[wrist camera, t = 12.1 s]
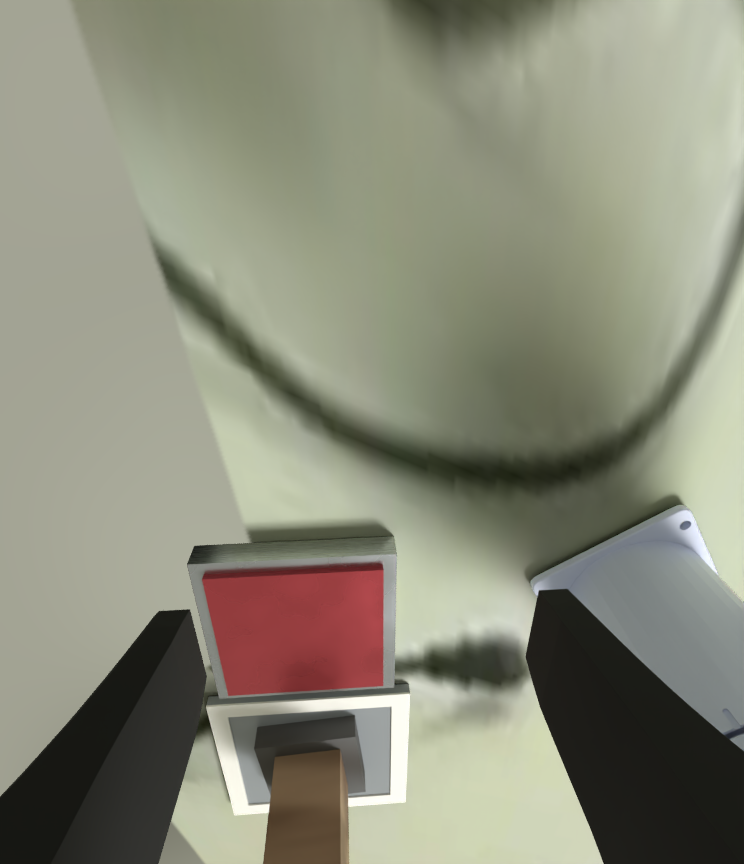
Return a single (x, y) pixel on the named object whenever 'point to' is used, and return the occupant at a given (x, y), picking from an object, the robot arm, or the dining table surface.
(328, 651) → the ink pad
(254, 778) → the marked square
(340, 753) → the stamp
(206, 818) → the dining table surface
